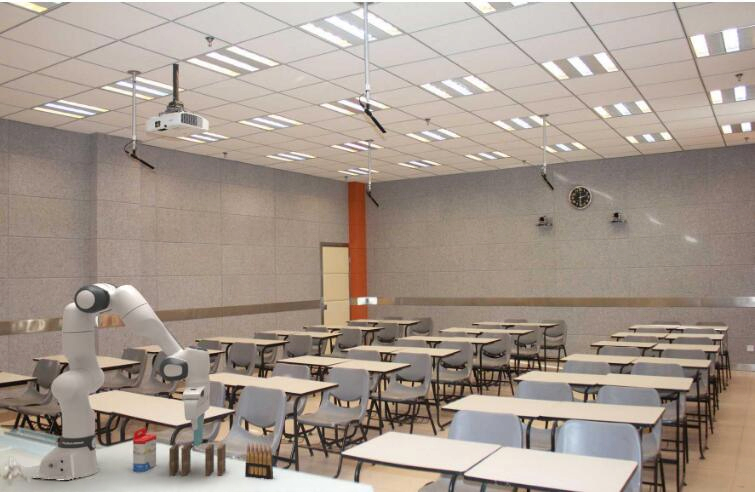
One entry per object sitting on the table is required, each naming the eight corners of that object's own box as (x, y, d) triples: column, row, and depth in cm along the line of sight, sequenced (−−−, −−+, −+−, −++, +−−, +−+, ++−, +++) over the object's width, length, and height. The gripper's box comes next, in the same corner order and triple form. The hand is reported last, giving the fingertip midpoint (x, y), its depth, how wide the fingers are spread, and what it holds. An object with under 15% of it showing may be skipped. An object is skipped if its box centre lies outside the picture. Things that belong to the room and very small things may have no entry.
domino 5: (217, 475, 231) (217, 448, 232) (221, 470, 237) (221, 443, 238) (221, 475, 231) (221, 448, 232) (225, 470, 237) (225, 443, 238)
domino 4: (205, 476, 231) (205, 448, 232) (209, 470, 237) (209, 444, 238) (209, 476, 231) (209, 448, 232) (213, 470, 237) (213, 443, 238)
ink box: (144, 472, 237) (144, 432, 237) (132, 471, 238) (132, 432, 238) (156, 465, 245) (156, 427, 246) (145, 464, 246) (145, 426, 247)
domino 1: (169, 476, 231) (169, 448, 232) (174, 471, 237) (174, 444, 238) (173, 476, 231) (173, 448, 232) (178, 471, 237) (178, 444, 238)
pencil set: (244, 476, 230) (244, 443, 231) (247, 475, 232) (247, 442, 233) (270, 479, 227) (270, 446, 227) (273, 478, 228) (273, 444, 229)
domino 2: (181, 476, 231) (181, 448, 232) (186, 471, 237) (186, 444, 238) (185, 476, 231) (185, 448, 232) (190, 471, 237) (190, 444, 238)
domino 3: (193, 445, 232) (193, 418, 232) (198, 441, 238) (198, 414, 238) (198, 445, 232) (198, 418, 232) (202, 441, 238) (202, 414, 238)
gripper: (197, 384, 246) (197, 420, 245) (181, 395, 225) (181, 434, 225) (213, 384, 246) (213, 420, 245) (198, 394, 225) (198, 433, 225)
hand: (198, 427), depth 235 cm, fingers closed on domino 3, 6 cm apart
